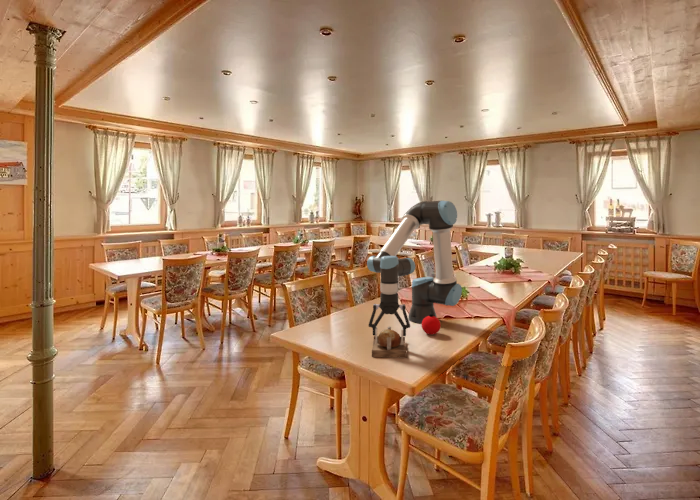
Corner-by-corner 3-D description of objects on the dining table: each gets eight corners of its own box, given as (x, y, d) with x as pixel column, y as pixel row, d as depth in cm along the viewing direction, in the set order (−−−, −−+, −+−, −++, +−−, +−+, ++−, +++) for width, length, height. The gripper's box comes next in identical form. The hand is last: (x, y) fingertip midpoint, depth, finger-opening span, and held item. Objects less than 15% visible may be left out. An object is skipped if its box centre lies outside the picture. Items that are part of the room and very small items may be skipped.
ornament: (439, 338, 179) (439, 317, 178) (419, 336, 182) (420, 315, 181) (441, 332, 188) (441, 312, 187) (423, 330, 191) (423, 310, 190)
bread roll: (380, 347, 170) (372, 332, 169) (400, 337, 171) (393, 321, 170) (383, 356, 161) (375, 339, 160) (405, 345, 161) (397, 328, 160)
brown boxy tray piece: (404, 342, 173) (404, 326, 173) (406, 357, 156) (406, 339, 155) (373, 341, 175) (373, 325, 174) (371, 356, 157) (371, 338, 156)
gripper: (415, 290, 165) (415, 340, 168) (363, 290, 168) (363, 339, 170) (417, 294, 158) (416, 346, 160) (361, 293, 160) (362, 345, 163)
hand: (389, 342), depth 165 cm, fingers closed on bread roll, 10 cm apart
